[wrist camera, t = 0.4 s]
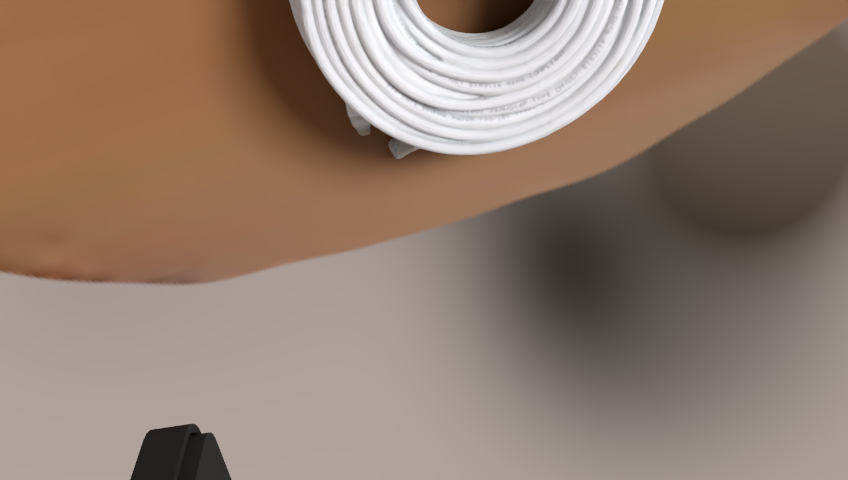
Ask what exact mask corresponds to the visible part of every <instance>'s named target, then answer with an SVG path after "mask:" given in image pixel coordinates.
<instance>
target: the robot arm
mask: <svg viewBox="0 0 848 480" xmlns="http://www.w3.org/2000/svg"><path fill="white" fill-rule="evenodd" d="M130 480H231V477H230V475H229V472H228V470H227V467H226V464H225V462H224V459H223V457H222V454H221V452H220V449H219V446H218V444H217V442H216V439H215V437H214V435H213V434H212V433H204V434H201V432H200V430H199V428H198V427H197V426H196V425H195V424H188V425H181V426H174V427H168V428H162V429H154V430H150V431H149V432H148V433H147V434H146V436H145V438H144V440H143V443H142V446H141V450H140V452H139V455H138V458H137V461H136V465H135V467H134V470H133V474H132V476H131V479H130Z"/></svg>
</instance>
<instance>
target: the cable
mask: <svg viewBox="0 0 848 480" xmlns="http://www.w3.org/2000/svg"><path fill="white" fill-rule="evenodd" d="M289 2H290V5H291V9H292V13H293V16H294V19H295V21H296V24H297V27H298V29H299V31H300V34H301V36H302V38H303V40H304V42H305V44H306V46H307V48H308V49H309V51H310V53H311V55H312V56H313V58H314V59H315V61H316V63H317V65H318V67H319V68H320V70H321V72H322V73H323V75H324V76H325V78H326V79H327V80H328V82H329V83H330V85H331V86H332V87H333V88H334V90H335V91H336V92H337V93H338V95H339V96H340V97H341V98H342V99H343V100H344V101H345V104H346V109H347V113H348V117H349V119H350V122H351V124H352V126H353V127H354V128H355V129H356V131H357V132H358V134H359V135H361V136H365V135H369V134H370V130H371V124H372V125H373V126H374V127H376V128H378V129H379V130H381V131H383V132H384V133H386V134H387V135H389V136H391V137H393V139H391V140H390V141H389V144H388V146H389V148H390V151H391V152H392V154H393V156H394V157H395V158H396V159H401V158H402V157H404V156H405V155H407V154H409V153H411V152H414V151H416V150H418V149H424V150H428V151H432V152H437V153H442V154H451V155H479V154H488V153H495V152H500V151H505V150H508V149H512V148H516V147H519V146H522V145H525V144H528V143H531V142H533V141H536V140H538V139H540V138H543V137H545V136H547V135H549V134H551V133H553V132H555V131H556V130H558V129H560V128H562V127H564V126H566V125H567V124H569V123H571V122H572V121H574V120H575V119H577V118H578V117H580V116H581V115H583V114H584V113H585V112H586V111H588V110H589V109H590V108H591V107H593V106H594V105H595V104H596V103H598V102H599V101H600V100H601V99H603V98H604V97H605V96H606V95H607V94H608V93H609V92H610V91H611V90H612V89H613V88H614V87H615V86H616V85H617V84H618V83H619V82H620V80H621V79H622V78H623V77H624V76H625V74H626V73H627V72H628V71H629V69H630V68H631V67H632V66H633V64H634V63H635V61H636V60H637V58H638V57H639V55H640V54H641V52H642V50H643V49H644V47H645V45H646V43H647V41H648V39H649V37H650V36H651V34H652V31H653V29H654V27H655V25H656V23H657V20H658V17H659V14H660V11H661V8H662V5H663V2H664V0H534V2H533V3H532V4H531V6H530V7H529V8H528V9H527V10H526V11H525V12H524V13H523V14H522V15H521V16H520V17H519V18H517V19H516V20H515V21H513V22H512V23H510V24H509V25H507V26H505V27H503V28H500V29H498V30H495V31H491V32H486V33H462V32H456V31H453V30H449V29H447V28H444V27H442V26H440V25H438V24H436V23H435V22H433V21H432V20H430V19H428V18H427V17H426V16H425V15H424V13H423V12H422V11H421V9H420V7H419V5H418V3H417V1H416V0H289Z"/></svg>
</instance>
